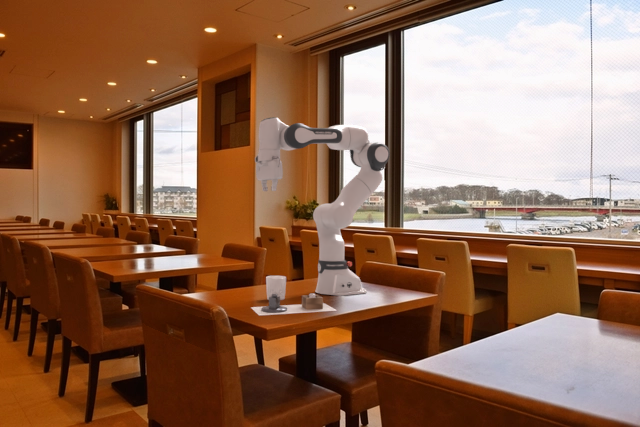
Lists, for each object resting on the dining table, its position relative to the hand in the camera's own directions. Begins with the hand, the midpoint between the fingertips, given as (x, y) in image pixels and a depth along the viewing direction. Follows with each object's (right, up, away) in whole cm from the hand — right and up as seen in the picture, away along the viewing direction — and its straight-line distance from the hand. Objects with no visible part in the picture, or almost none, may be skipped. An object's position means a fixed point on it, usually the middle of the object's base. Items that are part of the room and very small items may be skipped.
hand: (269, 191), depth 211 cm
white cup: (+4, -44, -9) cm, 45 cm away
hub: (+5, -43, -31) cm, 53 cm away
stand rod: (+18, -43, -26) cm, 53 cm away
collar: (+18, -43, -26) cm, 53 cm away
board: (+11, -45, -28) cm, 54 cm away
